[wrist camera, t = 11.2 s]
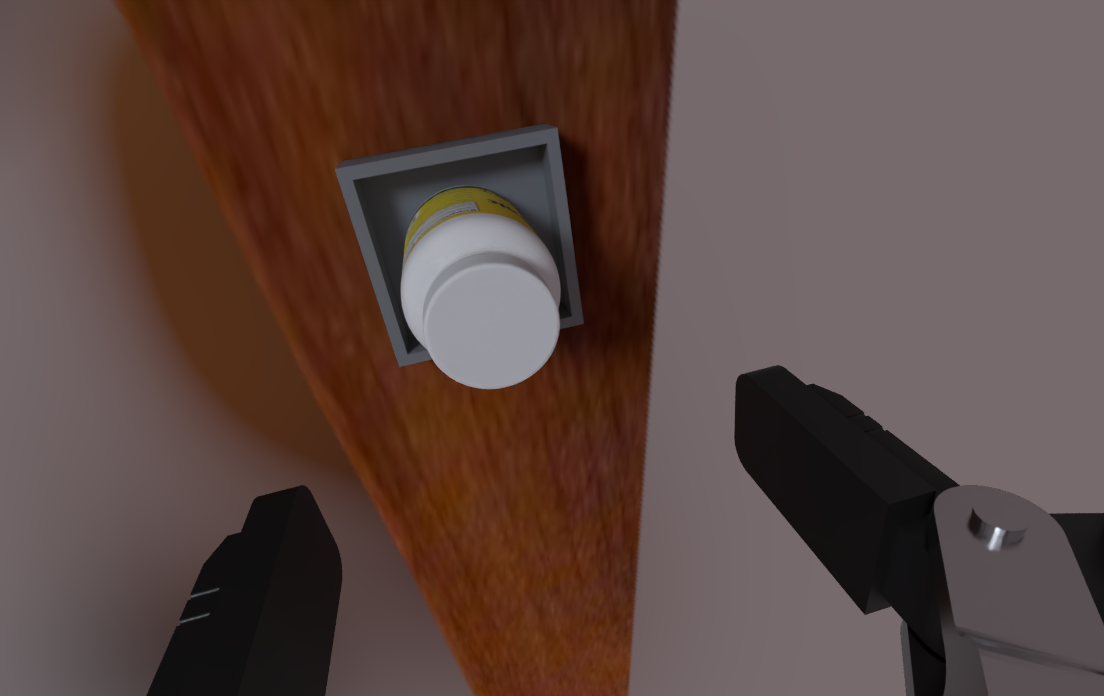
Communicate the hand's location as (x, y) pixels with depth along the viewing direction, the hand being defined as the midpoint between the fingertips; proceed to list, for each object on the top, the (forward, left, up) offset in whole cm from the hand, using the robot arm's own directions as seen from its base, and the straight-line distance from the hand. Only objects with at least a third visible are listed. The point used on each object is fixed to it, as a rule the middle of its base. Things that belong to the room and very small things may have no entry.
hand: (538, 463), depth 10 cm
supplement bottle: (0, 0, -16) cm, 16 cm away
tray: (0, 0, -17) cm, 17 cm away
